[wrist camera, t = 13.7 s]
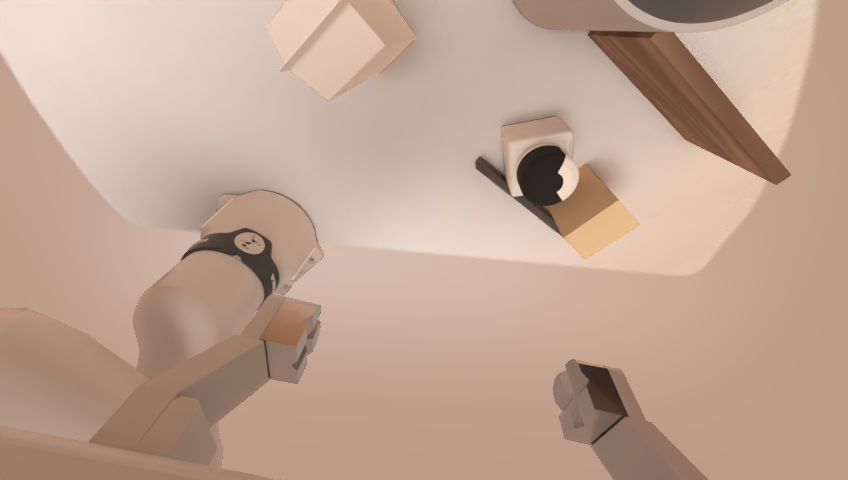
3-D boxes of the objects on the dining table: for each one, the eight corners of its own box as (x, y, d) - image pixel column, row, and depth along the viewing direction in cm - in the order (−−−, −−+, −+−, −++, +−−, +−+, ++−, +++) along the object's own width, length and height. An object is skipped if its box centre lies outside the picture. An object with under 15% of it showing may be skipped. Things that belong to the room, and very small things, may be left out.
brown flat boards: (565, 235, 50) (597, 297, 38) (474, 163, 45) (479, 210, 33) (695, 132, 40) (791, 175, 28) (597, 24, 35) (665, 22, 23)
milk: (416, 37, 37) (378, 49, 19) (379, 73, 40) (313, 113, 21) (382, -14, 35) (300, -58, 17) (344, 27, 37) (237, 28, 19)
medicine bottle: (504, 176, 46) (517, 217, 36) (500, 125, 42) (513, 156, 32) (557, 167, 44) (585, 208, 34) (557, 115, 40) (590, 143, 30)
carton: (604, 185, 45) (641, 225, 36) (562, 216, 48) (586, 260, 39) (585, 163, 43) (618, 199, 34) (542, 197, 47) (563, 238, 38)
